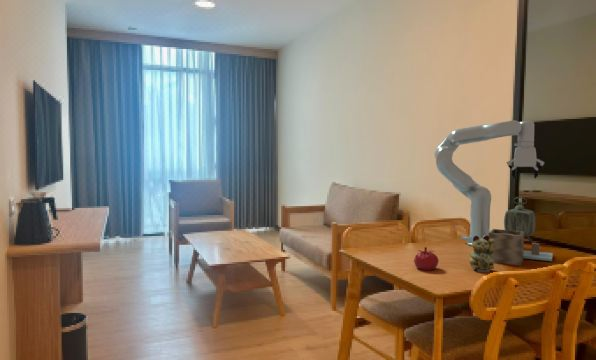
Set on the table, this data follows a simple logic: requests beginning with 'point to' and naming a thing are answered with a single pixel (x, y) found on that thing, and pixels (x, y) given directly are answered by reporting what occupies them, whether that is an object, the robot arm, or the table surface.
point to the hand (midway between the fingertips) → (524, 177)
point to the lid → (537, 253)
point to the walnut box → (507, 246)
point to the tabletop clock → (520, 219)
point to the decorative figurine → (482, 254)
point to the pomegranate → (426, 260)
